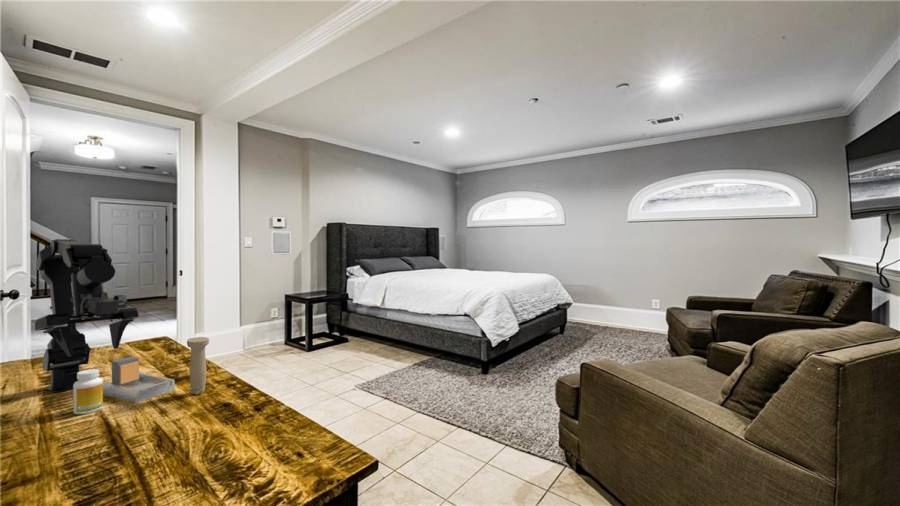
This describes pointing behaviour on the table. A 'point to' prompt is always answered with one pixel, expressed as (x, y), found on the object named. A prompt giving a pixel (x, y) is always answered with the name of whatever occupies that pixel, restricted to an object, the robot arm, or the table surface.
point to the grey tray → (135, 382)
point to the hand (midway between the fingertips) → (94, 352)
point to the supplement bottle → (87, 392)
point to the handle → (197, 364)
